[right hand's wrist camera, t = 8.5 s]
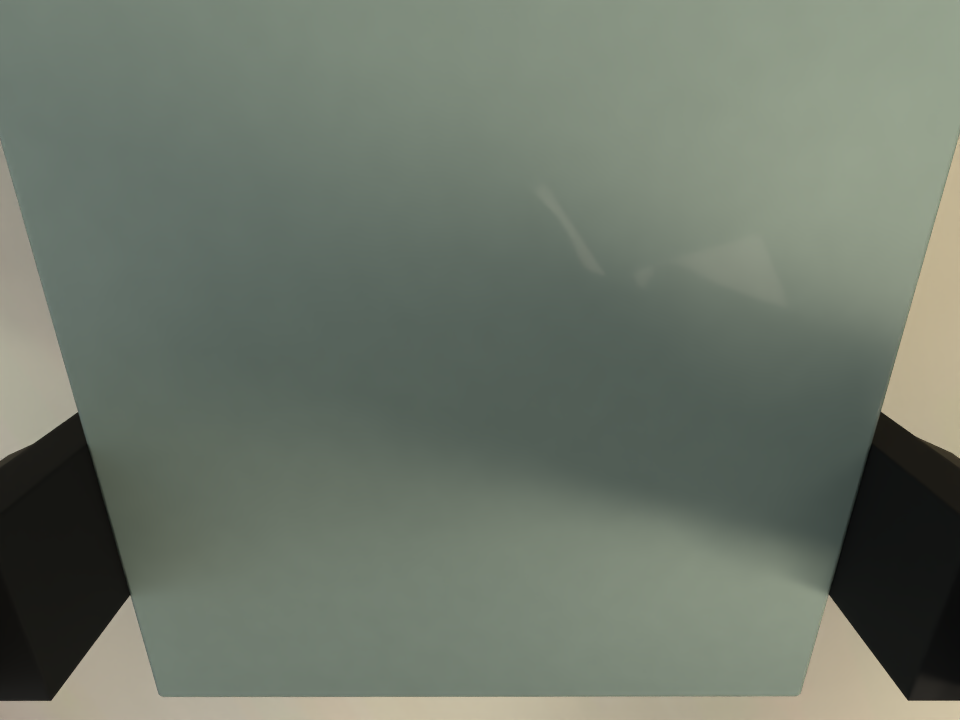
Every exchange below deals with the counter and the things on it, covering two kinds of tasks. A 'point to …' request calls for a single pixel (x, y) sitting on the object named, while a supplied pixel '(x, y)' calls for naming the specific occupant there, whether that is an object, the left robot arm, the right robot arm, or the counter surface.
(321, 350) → the cabinet
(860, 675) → the counter surface
